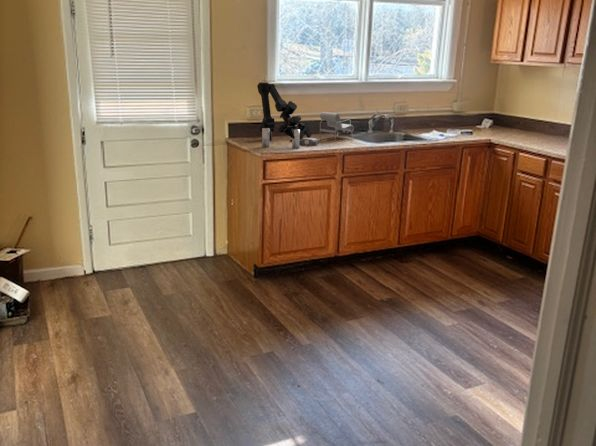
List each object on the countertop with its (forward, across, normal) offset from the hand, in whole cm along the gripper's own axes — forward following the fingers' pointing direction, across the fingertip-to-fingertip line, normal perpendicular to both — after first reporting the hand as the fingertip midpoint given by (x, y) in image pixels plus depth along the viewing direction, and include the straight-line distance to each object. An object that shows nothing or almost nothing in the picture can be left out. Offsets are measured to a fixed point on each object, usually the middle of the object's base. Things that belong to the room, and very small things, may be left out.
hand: (297, 138), depth 373 cm
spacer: (-5, -16, +14) cm, 22 cm away
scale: (-3, +18, +12) cm, 22 cm away
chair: (-8, +50, +18) cm, 54 cm away
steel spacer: (+4, 0, +6) cm, 7 cm away
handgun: (-16, +28, +26) cm, 41 cm away
